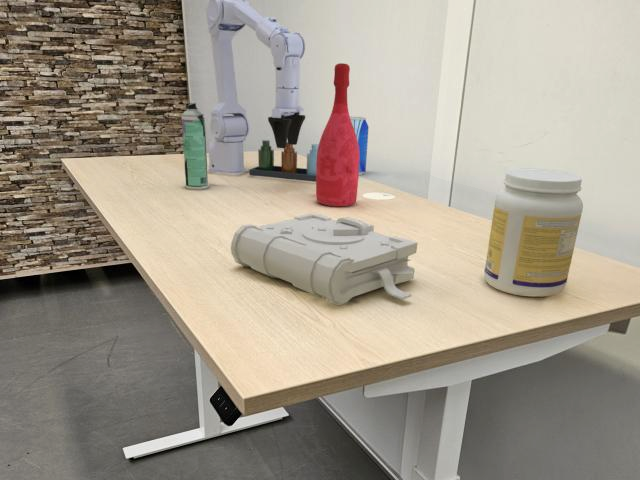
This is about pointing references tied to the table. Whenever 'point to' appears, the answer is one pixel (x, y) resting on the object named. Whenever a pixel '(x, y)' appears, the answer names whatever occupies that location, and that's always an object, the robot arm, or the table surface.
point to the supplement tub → (534, 232)
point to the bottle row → (268, 158)
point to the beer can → (361, 140)
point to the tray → (283, 174)
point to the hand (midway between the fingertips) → (287, 146)
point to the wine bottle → (338, 150)
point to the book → (326, 256)
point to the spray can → (194, 148)
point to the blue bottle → (312, 160)
